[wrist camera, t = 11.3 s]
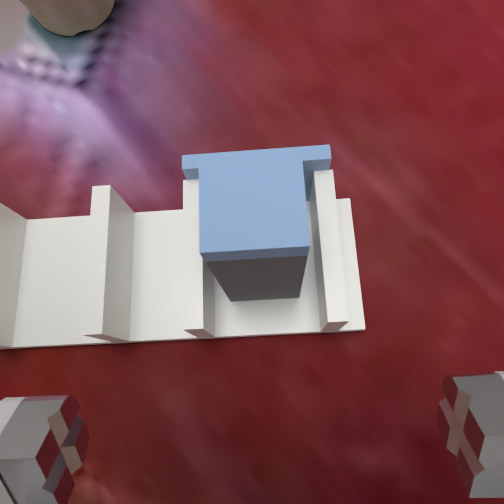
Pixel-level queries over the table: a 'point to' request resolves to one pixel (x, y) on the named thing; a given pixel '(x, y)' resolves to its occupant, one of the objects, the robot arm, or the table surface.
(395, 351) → the table surface
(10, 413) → the robot arm
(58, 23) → the flower pot
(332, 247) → the slotted rack with block
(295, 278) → the plug
